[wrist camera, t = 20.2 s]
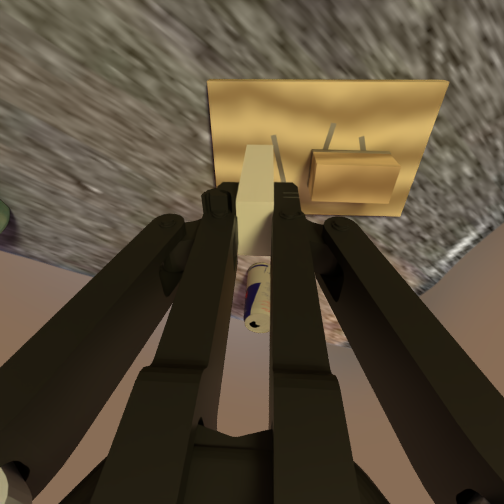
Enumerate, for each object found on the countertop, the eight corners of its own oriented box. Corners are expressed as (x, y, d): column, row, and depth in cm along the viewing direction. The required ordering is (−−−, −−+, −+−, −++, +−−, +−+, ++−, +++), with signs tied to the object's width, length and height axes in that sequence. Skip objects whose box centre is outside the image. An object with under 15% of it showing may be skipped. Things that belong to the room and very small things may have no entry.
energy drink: (242, 270, 56) (236, 321, 46) (264, 257, 53) (262, 308, 44) (259, 286, 58) (257, 337, 49) (281, 274, 56) (283, 326, 46)
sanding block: (311, 148, 39) (316, 163, 35) (389, 151, 39) (402, 166, 35) (306, 184, 42) (310, 201, 38) (378, 187, 42) (389, 204, 38)
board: (209, 79, 36) (207, 81, 35) (443, 79, 35) (449, 82, 33) (220, 207, 47) (218, 212, 46) (396, 211, 46) (400, 216, 45)
